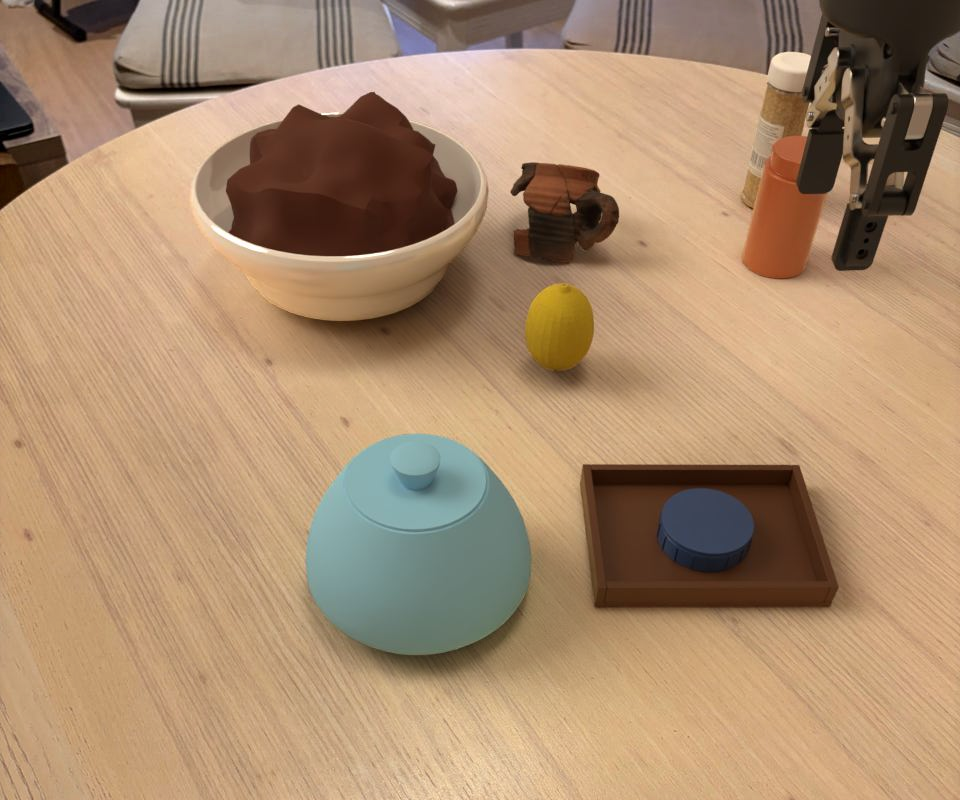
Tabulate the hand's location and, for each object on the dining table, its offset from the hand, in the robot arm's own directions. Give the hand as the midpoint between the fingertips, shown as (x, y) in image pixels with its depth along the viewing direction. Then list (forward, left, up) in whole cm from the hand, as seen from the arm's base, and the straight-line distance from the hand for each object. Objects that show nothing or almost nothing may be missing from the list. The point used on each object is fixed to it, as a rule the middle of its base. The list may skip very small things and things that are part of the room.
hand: (830, 227), depth 61 cm
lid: (+5, +6, -19) cm, 20 cm away
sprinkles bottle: (-9, -42, -21) cm, 47 cm away
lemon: (+14, -14, -21) cm, 29 cm away
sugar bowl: (+25, +10, -21) cm, 34 cm away
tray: (+5, +6, -21) cm, 22 cm away
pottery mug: (+12, -34, -21) cm, 41 cm away
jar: (-8, -31, -21) cm, 38 cm away
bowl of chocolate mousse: (+32, -27, -21) cm, 47 cm away
